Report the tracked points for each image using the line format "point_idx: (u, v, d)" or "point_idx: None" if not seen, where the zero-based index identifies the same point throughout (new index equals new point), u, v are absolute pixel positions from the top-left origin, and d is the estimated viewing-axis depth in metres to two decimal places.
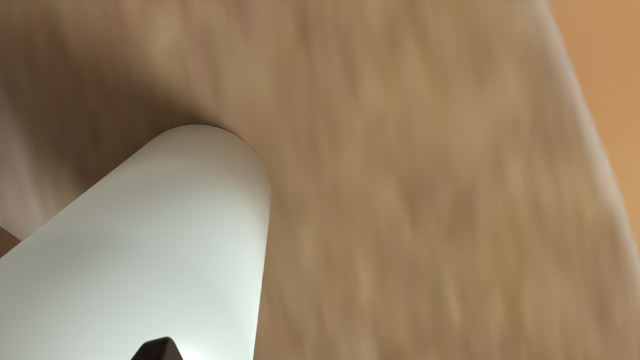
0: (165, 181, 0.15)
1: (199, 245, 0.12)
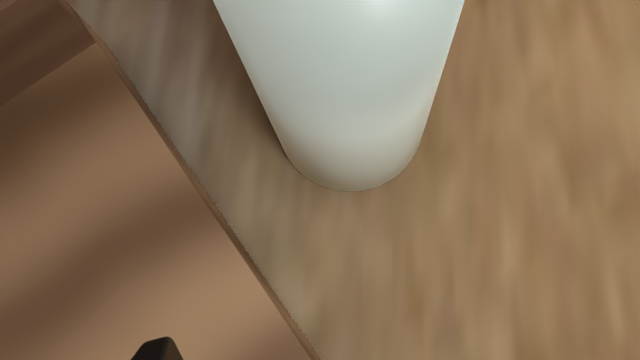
0: None
1: None
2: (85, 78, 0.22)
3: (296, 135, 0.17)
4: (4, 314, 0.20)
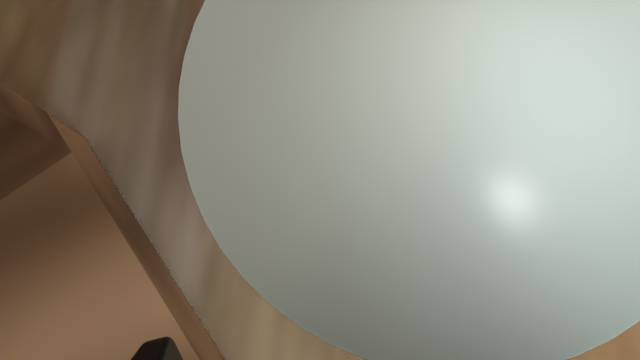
0: None
1: None
2: (56, 200, 0.17)
3: None
4: None
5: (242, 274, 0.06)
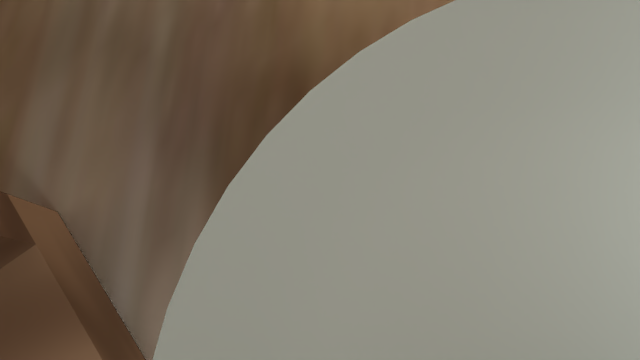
0: None
1: None
2: (17, 306, 0.14)
3: None
4: None
5: None
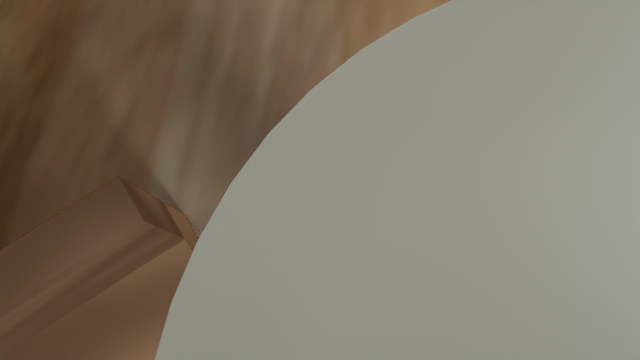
0: None
1: None
2: (172, 281, 0.20)
3: None
4: None
5: None
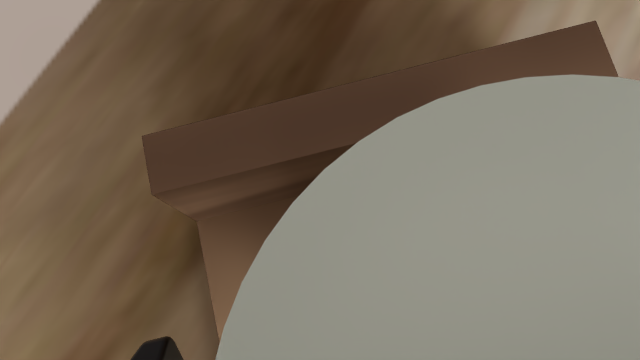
0: None
1: None
2: None
3: None
4: None
5: None
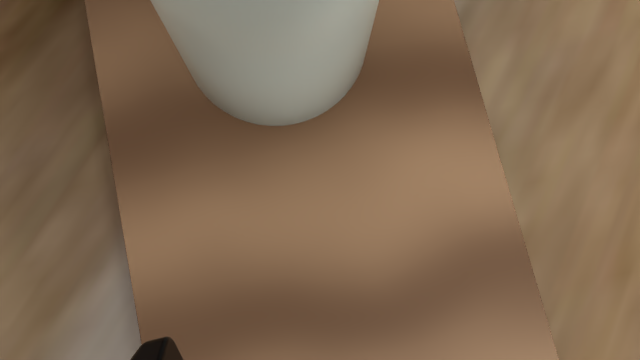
0: None
1: None
2: None
3: (186, 28, 0.12)
4: None
5: None
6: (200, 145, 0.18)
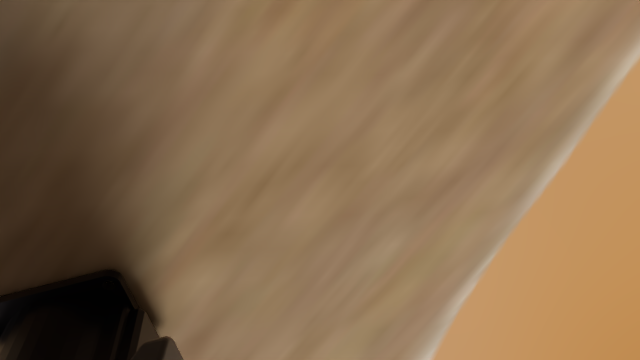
0: None
1: None
2: None
3: None
4: None
5: None
6: None
